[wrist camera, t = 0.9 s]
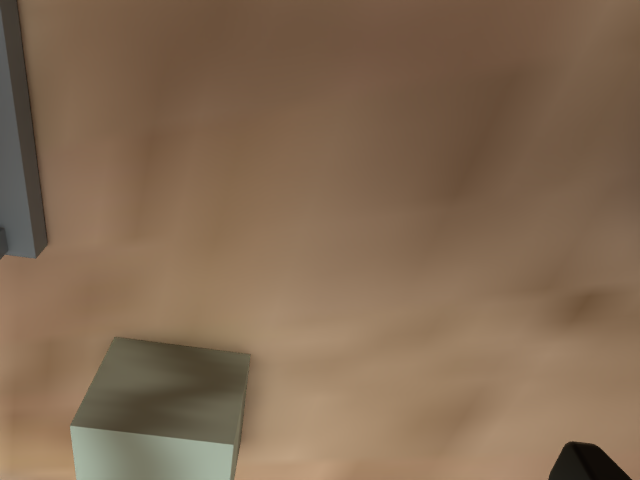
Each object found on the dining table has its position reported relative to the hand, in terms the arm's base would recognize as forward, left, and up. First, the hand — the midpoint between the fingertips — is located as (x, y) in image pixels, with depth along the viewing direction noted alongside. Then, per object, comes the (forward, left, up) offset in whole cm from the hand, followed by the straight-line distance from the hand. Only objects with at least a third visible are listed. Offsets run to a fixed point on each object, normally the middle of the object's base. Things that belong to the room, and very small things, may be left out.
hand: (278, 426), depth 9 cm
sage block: (+9, +11, -13) cm, 19 cm away
